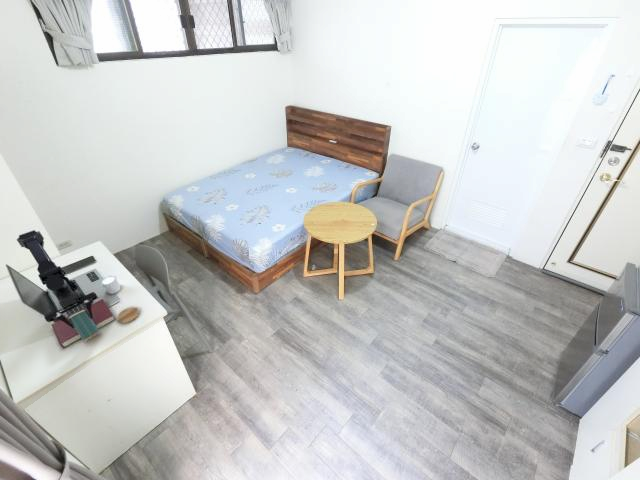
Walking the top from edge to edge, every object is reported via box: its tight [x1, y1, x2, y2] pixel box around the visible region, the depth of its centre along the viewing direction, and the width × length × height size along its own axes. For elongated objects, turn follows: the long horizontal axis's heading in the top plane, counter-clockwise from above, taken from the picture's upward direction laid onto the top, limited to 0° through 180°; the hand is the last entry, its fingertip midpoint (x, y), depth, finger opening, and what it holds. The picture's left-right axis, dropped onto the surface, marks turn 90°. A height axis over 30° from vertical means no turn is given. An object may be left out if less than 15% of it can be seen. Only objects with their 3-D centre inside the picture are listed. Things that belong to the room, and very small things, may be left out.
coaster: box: [117, 307, 140, 324], centre depth 144 cm, size 9×9×1 cm
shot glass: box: [100, 275, 121, 295], centre depth 155 cm, size 7×7×7 cm
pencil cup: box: [68, 309, 101, 343], centre depth 131 cm, size 13×7×13 cm, turn 47°
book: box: [51, 298, 117, 349], centre depth 139 cm, size 15×21×3 cm
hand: (83, 323), depth 131 cm, fingers open, 7 cm apart
